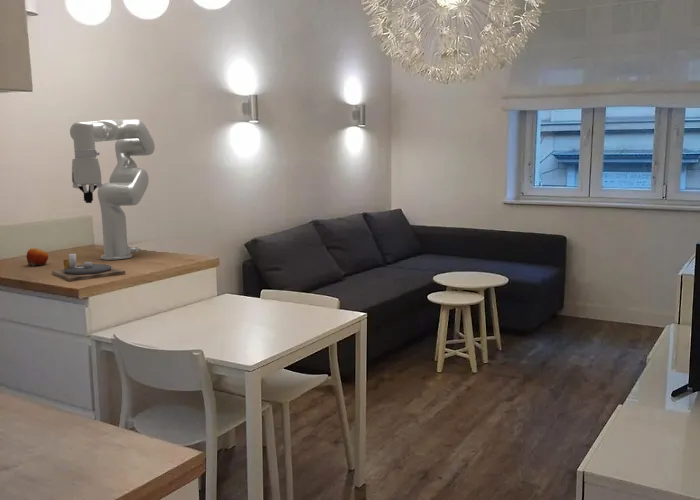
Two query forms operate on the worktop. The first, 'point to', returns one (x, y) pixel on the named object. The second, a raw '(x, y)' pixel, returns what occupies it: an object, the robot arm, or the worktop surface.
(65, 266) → the stand
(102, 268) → the grey pot lid
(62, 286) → the worktop surface
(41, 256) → the fruit
